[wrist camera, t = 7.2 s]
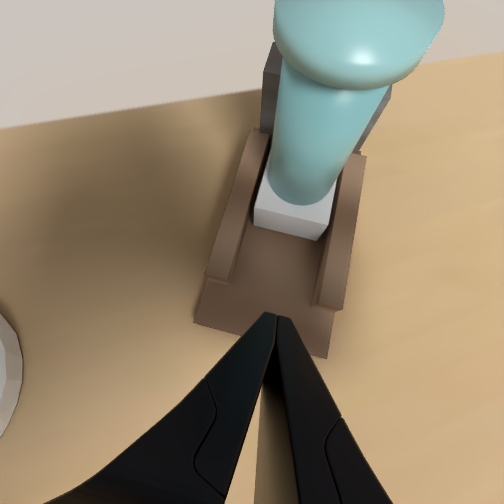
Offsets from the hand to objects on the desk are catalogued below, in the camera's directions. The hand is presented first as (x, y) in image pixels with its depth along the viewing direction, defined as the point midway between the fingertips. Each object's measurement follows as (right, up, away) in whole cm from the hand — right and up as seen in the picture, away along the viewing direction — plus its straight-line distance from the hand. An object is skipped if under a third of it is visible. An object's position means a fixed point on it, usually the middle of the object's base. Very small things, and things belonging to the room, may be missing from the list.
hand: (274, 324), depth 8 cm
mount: (+1, +4, +9) cm, 10 cm away
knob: (+2, +6, +10) cm, 11 cm away
